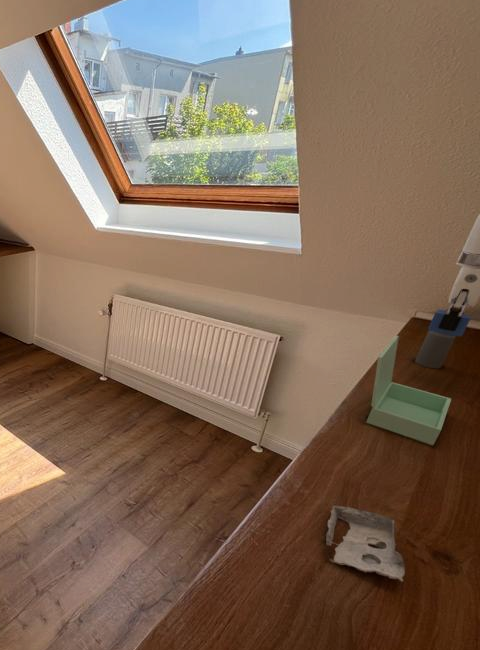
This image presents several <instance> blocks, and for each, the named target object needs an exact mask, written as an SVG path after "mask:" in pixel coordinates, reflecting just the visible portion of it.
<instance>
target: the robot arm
mask: <svg viewBox="0 0 480 650" xmlns="http://www.w3.org/2000/svg"><path fill="white" fill-rule="evenodd" d="M455 265H457V266H460V269H459V272H458V274H457V276H456V278H455V281H454V283H453V284H452V287H451V288H452V289H451V290H450V293H449V296H448V301H447V303H448V304H449V307H448V309H446V311H447V313H446V314H444V316H443V318H442V320H441V323H440V325H439V327H438V328H440V329H445V330H450V331H455V330H456V328H457V326H458V324H459V322H460V320H461V318H462V317H461V315H462V314H464V311H465V308H466V307H467V306H470V308H475V306H476V304H477V303H478V300H479V299H480V213H479V214H478V216H477V217H476V219H475V221H474V224H473V226H472V228H471V230H470V233H469V234H468V237H467V239H466V241H465V244H464V246H463V247H462V250H461V252H460V254H459V256H458V259H457V260H456V263H455Z"/></svg>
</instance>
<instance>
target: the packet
mask: <svg viewBox="0 0 480 650" xmlns="http://www.w3.org/2000/svg"><path fill="white" fill-rule="evenodd" d="M446 313H447V310H443V309H437V310H436V311H435V313H434V315H433V317H432V318H431V321H430V324H429V326H428V328H427V330H428V331H430V330H432V331H437V332H442V333H447V334H451V335H455V336H456V337H463V335H464V333H465V331H466V329H467V327H468V326H469V323H470V321H471V318H472V316H473V315H471V314H467V313H463V314H462V315H461V317H462V318H461V320H460V322H459V324H458V326H457V328H456V330H455V331H450V330H445V329H440V328H438V327H439V325H440V323H441V320H442V318H443V316H444V314H446Z"/></svg>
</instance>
